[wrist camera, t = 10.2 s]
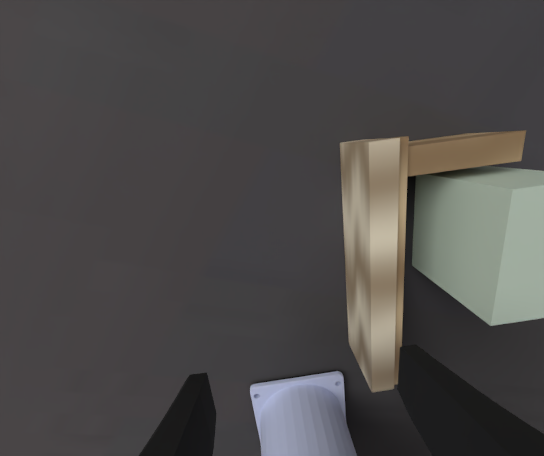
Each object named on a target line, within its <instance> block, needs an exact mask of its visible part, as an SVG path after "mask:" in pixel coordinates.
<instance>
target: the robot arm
mask: <svg viewBox="0 0 544 456" xmlns="http://www.w3.org/2000/svg"><path fill="white" fill-rule="evenodd" d="M338 381H339V382H338ZM397 389H398V391H399V393H400V396H401V398H402V400H403V402H404V404H405V407H406V409H407V411H408V413H409V415H410V417H411V419H412V421H413V423H414V424H415V426H416V428H417V430H418V431H419V433H420V435H421V436H422V438H423V440H424V442H425V443H426V445H427V447H428V448H429V450H430V452H431V453H432V455H433V456H544V434H543V433H541V432H539V431H538V430H536V429H535V428H533V427H532V426H530V425H528V424H527V423H525V422H524V421H522V420H521V419H519V418H518V417H516V416H515V415H513V414H512V413H510V412H509V411H507V410H506V409H504V408H503V407H501V406H500V405H498V404H497V403H495V402H494V401H492V400H491V399H489V398H488V397H487V396H485V395H484V394H482V393H481V392H479V391H478V390H477V389H475V388H474V387H472V386H471V385H470V384H468V383H467V382H465V381H464V380H463V379H461V378H460V377H459V376H457V375H456V374H455V373H453V372H452V371H450V370H449V369H448V368H446V367H445V366H444V365H442V364H441V363H440V362H438V361H437V360H436V359H434V358H433V357H432V356H430V355H429V354H428V353H426V352H425V351H424V350H422V349H421V348H420V347H418V346H417V345H411V346H404V347H400V353H399V371H398V388H397ZM250 394H251V399H252V404H253V409H254V413H255V418H256V423H257V428H258V433H259V438H260V442H261V456H357V454H356V451H355V448H354V445H353V442H352V439H351V436H350V433H349V430H348V427H347V424H346V410H345V392H344V377H343V375H342V373H341V372H339V371H335V372H328V373H322V374H315V375H309V376H302V377H296V378H289V379H283V380H276V381H270V382H263V383H257V384H253V385H252V386H251V387H250ZM215 425H216V410H215V406H214V401H213V397H212V393H211V389H210V384H209V380H208V376H207V373H201V374H193V375H190V376H189V377H188V378H187V380H186V381H185V383H184V385H183V387H182V388H181V390H180V392H179V393H178V395H177V397H176V398H175V400H174V402H173V403H172V405H171V407H170V408H169V410H168V412H167V413H166V415H165V417H164V418H163V420H162V421H161V423H160V424H159V426H158V427H157V429H156V431H155V432H154V434H153V435H152V437H151V438H150V440H149V441H148V443H147V444H146V446H145V447H144V449H143V450H142V452H141V453H140V455H139V456H212V454H213V448H214V437H215Z"/></svg>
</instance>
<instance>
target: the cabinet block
mask: <svg viewBox="0 0 544 456" xmlns="http://www.w3.org/2000/svg"><path fill="white" fill-rule="evenodd" d="M412 266H413V267H415V268H416V269H417V270H419V271H420V272H421V273H423V274H424V275H425V276H426V277H428V278H429V279H430V280H432V281H433V282H434V283H436V284H437V285H438V286H439V287H441V288H442V289H443V290H445V291H446V292H447V293H449V294H450V295H451V296H452V297H454V298H455V299H456V300H458V301H459V302H460V303H462V304H463V305H464V306H465V307H467V308H468V309H469V310H471V311H472V312H473V313H475V314H476V315H477V316H478V317H480V318H481V319H482V320H484V321H485V322H486V323H488V324H489V325H490V326H494V325H500V324H507V323H513V322H520V321H527V320H533V319H540V318H544V171H538V170H527V169H516V168H505V167H494V166H480V167H473V168H466V169H458V170H451V171H444V172H437V173H430V174H423V175H416V183H415V206H414V229H413V252H412Z"/></svg>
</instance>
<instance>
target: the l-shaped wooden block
mask: <svg viewBox="0 0 544 456" xmlns="http://www.w3.org/2000/svg"><path fill="white" fill-rule="evenodd" d="M525 134H526V131H507V132H488V133H469V134H460V135H452V136H445V137H438V138H431V139H423V140H416V141H409V136H407V137H396V138H387V139H367V140H357V141H350V142H342V143H340V157H341V179H342V202H343V224H344V246H345V268H346V290H347V312H348V335H349V345H350V347H351V349H352V351H353V353H354V355H355V357H356V360H357V362H358V364H359V366H360V368H361V370H362V372H363V374H364V377H365V379H366V381H367V383H368V385H369V387H370V389H371V391H372V392H378V391H384V390H391V389H394V385H395V384H398V371H399V353H400V347H402V322H403V292H404V262H405V232H406V202H407V177H408V176H415V175H423V174H430V173H437V172H444V171H451V170H458V169H466V168H473V167H480V166H487V165H494V164H501V163H508V162H516V161H521V158H522V152H523V146H524V140H525Z"/></svg>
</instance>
